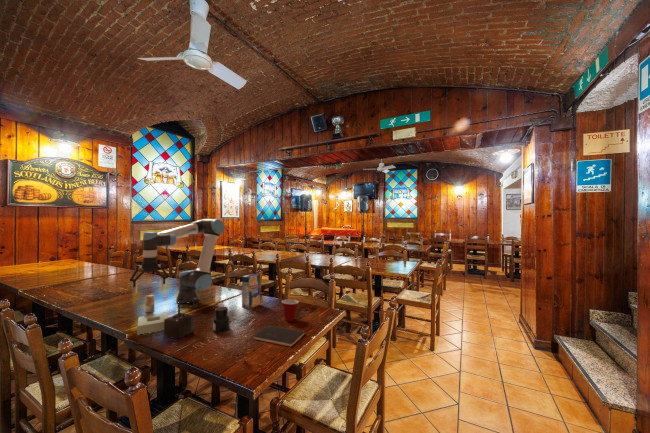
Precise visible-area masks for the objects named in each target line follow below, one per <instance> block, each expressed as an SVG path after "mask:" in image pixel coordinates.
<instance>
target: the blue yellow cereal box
mask: <svg viewBox="0 0 650 433" xmlns="http://www.w3.org/2000/svg"><path fill="white" fill-rule="evenodd" d="M241 281H242V282H241V308H243V309H249V310H250V309H253V308H254V307H257V306H260V305H261V303H260V302H261V301H260V299H261V296H260V295H261V292H260V291H261V287H260V286H261V283H260V282H261V274H256V273H252V274H251V273H250V274H248V275H243V276H242V278H241Z"/></svg>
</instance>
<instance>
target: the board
mask: <svg viewBox="0 0 650 433" xmlns="http://www.w3.org/2000/svg"><path fill="white" fill-rule="evenodd" d="M169 317H170V316H169V312H163V313H156V314H154V315H149V316H146V315H143V316H139V317H138V319H137V327H136V330H137V331H136V334H137V335H138V336H140V335H139V334H143V335H145V334H144V333H149V332H154V333H157V332H156V331H159V332H162V331H161V330H164V319H167V318H169ZM149 334H150V333H149ZM137 335H136V336H137Z"/></svg>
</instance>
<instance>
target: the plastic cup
mask: <svg viewBox="0 0 650 433" xmlns="http://www.w3.org/2000/svg"><path fill="white" fill-rule="evenodd" d="M299 303H300V302H299V300H297V299H291V298H290V299H283V300H281V304H282V308H283V315H284V319H285V322H294V321H295V319H296V314H297V308H298V304H299Z"/></svg>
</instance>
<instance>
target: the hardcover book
mask: <svg viewBox="0 0 650 433" xmlns="http://www.w3.org/2000/svg"><path fill="white" fill-rule="evenodd" d="M304 335H306V331H304V330H298V329H292V328H286V327H282V326H275V325H271V324H270V325H267V326H265V327H264V328H263V329H261V330H260V331H258V332H257V333H255V334H254V335H253V336H252V337H253V339H254V340H256V341H257V340H258V341H263V342H267V343H271V344H275V345H281V346H287V347H292V346H294V344H296V343H297V342H298V341H299V340H300V339H301V338H303V337H304Z"/></svg>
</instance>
